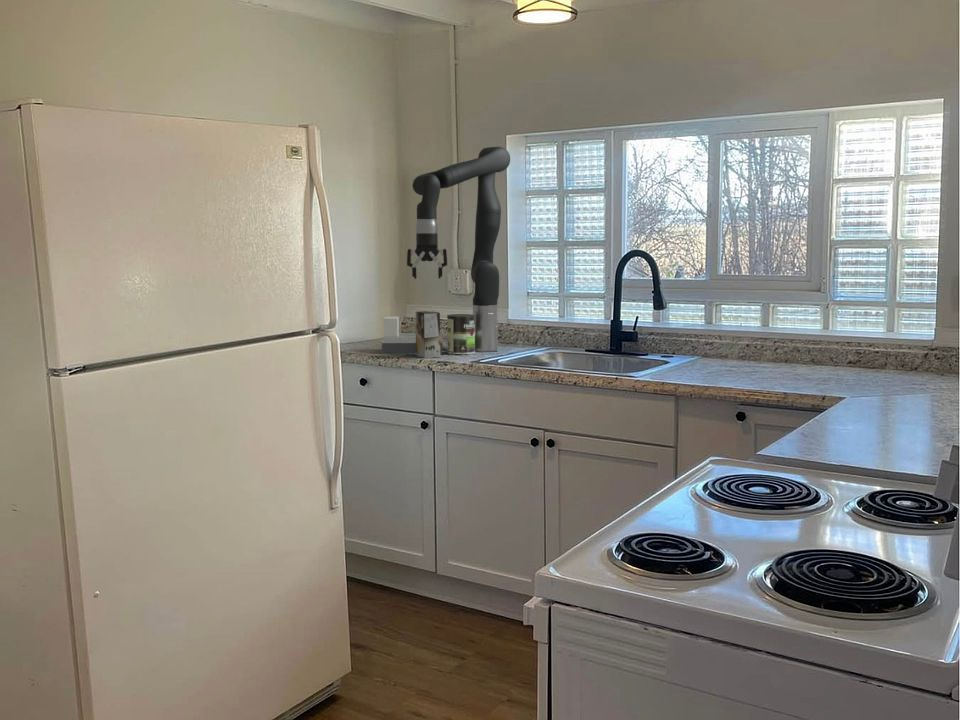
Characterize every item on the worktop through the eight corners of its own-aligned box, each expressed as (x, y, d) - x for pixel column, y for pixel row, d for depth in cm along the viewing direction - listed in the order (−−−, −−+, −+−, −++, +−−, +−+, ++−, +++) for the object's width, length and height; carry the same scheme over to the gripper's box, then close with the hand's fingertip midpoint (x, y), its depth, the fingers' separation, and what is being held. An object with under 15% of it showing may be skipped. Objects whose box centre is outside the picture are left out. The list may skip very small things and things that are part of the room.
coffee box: (441, 357, 322) (440, 312, 320) (424, 358, 319) (424, 313, 317) (431, 354, 330) (431, 310, 328) (415, 355, 328) (414, 311, 325)
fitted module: (398, 337, 342) (398, 316, 341) (397, 340, 333) (397, 318, 332) (385, 337, 342) (385, 316, 341) (383, 340, 333) (383, 318, 332)
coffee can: (480, 352, 335) (480, 314, 333) (463, 355, 327) (463, 316, 325) (459, 350, 341) (458, 313, 339) (441, 353, 333) (441, 315, 331)
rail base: (442, 349, 346) (442, 338, 345) (442, 353, 332) (442, 342, 331) (384, 349, 345) (384, 338, 344) (382, 354, 331) (381, 343, 331)
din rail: (442, 338, 345) (442, 333, 344) (442, 342, 332) (442, 336, 331) (384, 339, 344) (384, 333, 344) (382, 343, 331) (381, 337, 331)
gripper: (447, 232, 323) (447, 277, 325) (407, 232, 322) (407, 278, 325) (446, 232, 315) (447, 278, 317) (406, 232, 315) (406, 279, 317)
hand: (427, 278), depth 321 cm, fingers open, 8 cm apart
